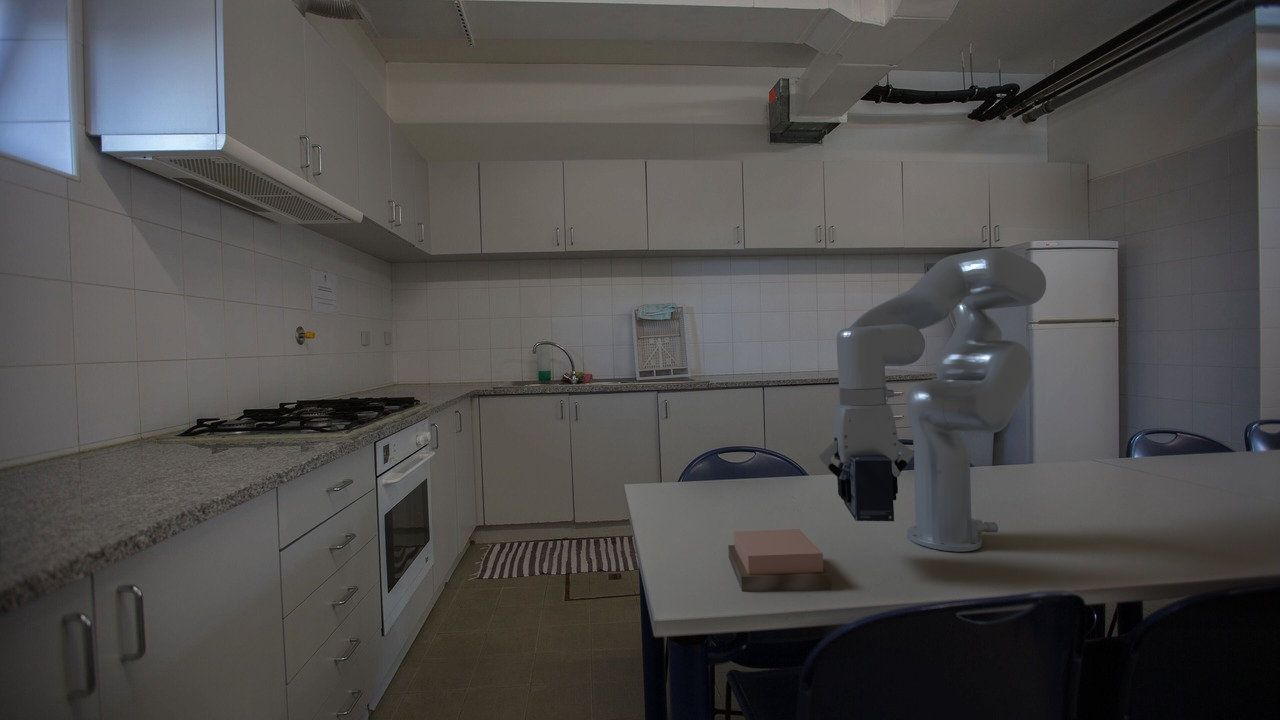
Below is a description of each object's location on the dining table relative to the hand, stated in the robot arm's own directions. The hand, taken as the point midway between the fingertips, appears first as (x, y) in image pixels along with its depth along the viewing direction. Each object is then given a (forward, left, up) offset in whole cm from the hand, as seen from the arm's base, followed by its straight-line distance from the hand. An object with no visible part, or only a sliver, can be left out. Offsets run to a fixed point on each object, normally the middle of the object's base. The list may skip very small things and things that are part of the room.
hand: (868, 498), depth 91 cm
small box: (0, 0, -3) cm, 3 cm away
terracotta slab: (+17, +2, -10) cm, 19 cm away
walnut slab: (+17, +1, -13) cm, 21 cm away
